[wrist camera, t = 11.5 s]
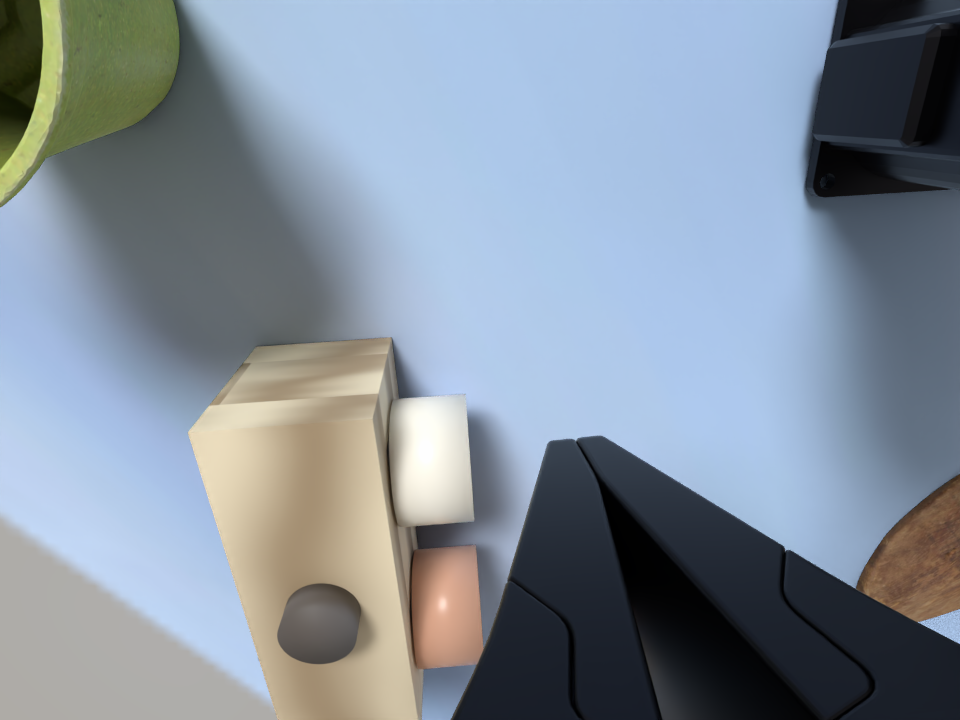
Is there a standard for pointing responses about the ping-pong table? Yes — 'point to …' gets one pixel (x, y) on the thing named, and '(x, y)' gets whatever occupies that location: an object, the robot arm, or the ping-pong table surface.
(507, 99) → the ping-pong table surface
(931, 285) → the ping-pong table surface
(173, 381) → the ping-pong table surface
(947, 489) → the paddle
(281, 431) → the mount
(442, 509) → the knob
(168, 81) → the plant pot
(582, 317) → the ping-pong table surface
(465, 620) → the knob
